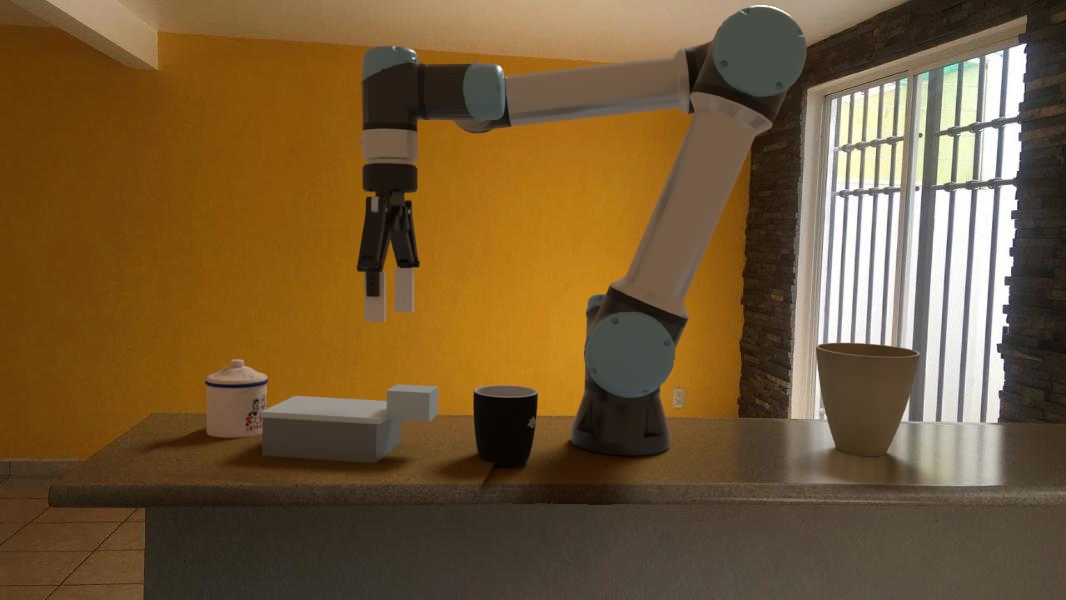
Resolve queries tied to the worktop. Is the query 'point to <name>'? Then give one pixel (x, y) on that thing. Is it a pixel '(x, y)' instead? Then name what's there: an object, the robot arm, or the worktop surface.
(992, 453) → the worktop surface
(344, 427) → the tub
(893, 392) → the plant pot
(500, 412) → the mug
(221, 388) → the teacup with lid
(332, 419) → the lid
